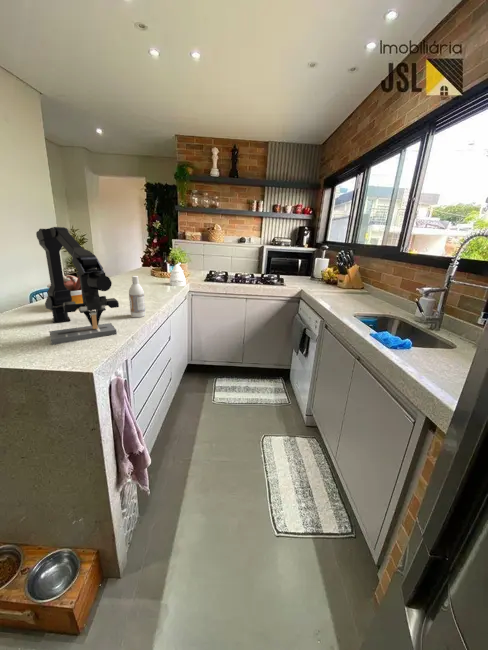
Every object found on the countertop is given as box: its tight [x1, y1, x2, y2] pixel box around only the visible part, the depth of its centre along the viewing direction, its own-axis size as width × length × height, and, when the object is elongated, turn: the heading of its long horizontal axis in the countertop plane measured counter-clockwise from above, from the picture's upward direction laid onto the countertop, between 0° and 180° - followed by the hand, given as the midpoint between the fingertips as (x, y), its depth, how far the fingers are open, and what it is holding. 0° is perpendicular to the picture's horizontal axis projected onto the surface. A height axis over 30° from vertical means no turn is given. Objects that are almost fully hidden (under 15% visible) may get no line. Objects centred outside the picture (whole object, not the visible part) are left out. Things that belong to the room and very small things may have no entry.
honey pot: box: [169, 262, 187, 287], centre depth 217 cm, size 13×13×18 cm
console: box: [48, 322, 118, 346], centre depth 106 cm, size 10×22×2 cm, turn 127°
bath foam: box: [128, 275, 146, 318], centre depth 131 cm, size 7×7×20 cm
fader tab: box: [89, 310, 98, 329], centre depth 107 cm, size 3×2×7 cm, turn 37°
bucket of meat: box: [46, 274, 83, 310], centre depth 139 cm, size 20×16×20 cm
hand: (94, 325), depth 108 cm, fingers closed on fader tab, 2 cm apart
